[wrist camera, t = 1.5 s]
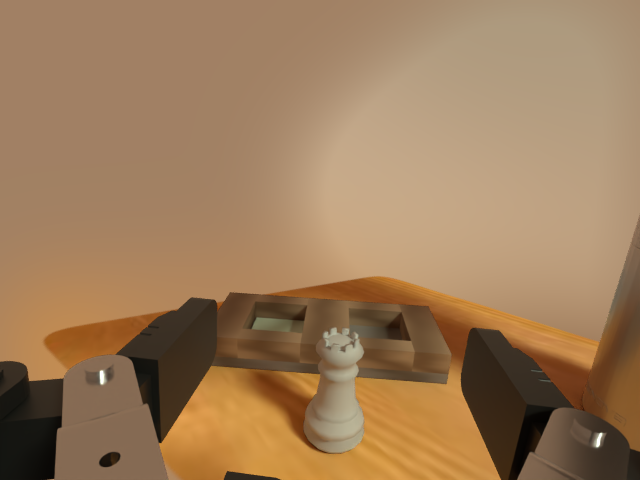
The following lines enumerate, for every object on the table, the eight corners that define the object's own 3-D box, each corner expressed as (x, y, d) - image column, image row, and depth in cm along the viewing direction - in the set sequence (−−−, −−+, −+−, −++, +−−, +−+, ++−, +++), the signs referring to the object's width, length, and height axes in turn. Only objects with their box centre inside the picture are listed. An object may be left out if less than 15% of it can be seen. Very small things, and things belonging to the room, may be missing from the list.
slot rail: (424, 330, 42) (428, 306, 41) (446, 383, 33) (451, 354, 32) (230, 316, 43) (230, 292, 42) (202, 364, 34) (201, 335, 33)
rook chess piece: (297, 413, 29) (301, 321, 26) (352, 406, 30) (361, 317, 28) (309, 463, 25) (315, 359, 22) (372, 452, 26) (384, 353, 23)
